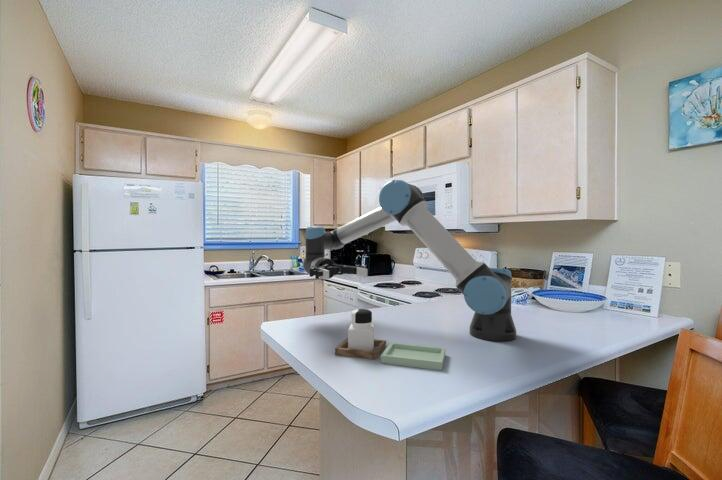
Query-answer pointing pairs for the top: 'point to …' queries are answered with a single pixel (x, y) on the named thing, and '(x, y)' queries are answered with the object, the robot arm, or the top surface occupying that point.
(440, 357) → the tray
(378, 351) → the frame
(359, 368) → the top surface
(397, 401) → the top surface
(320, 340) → the top surface
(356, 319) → the medicine bottle
